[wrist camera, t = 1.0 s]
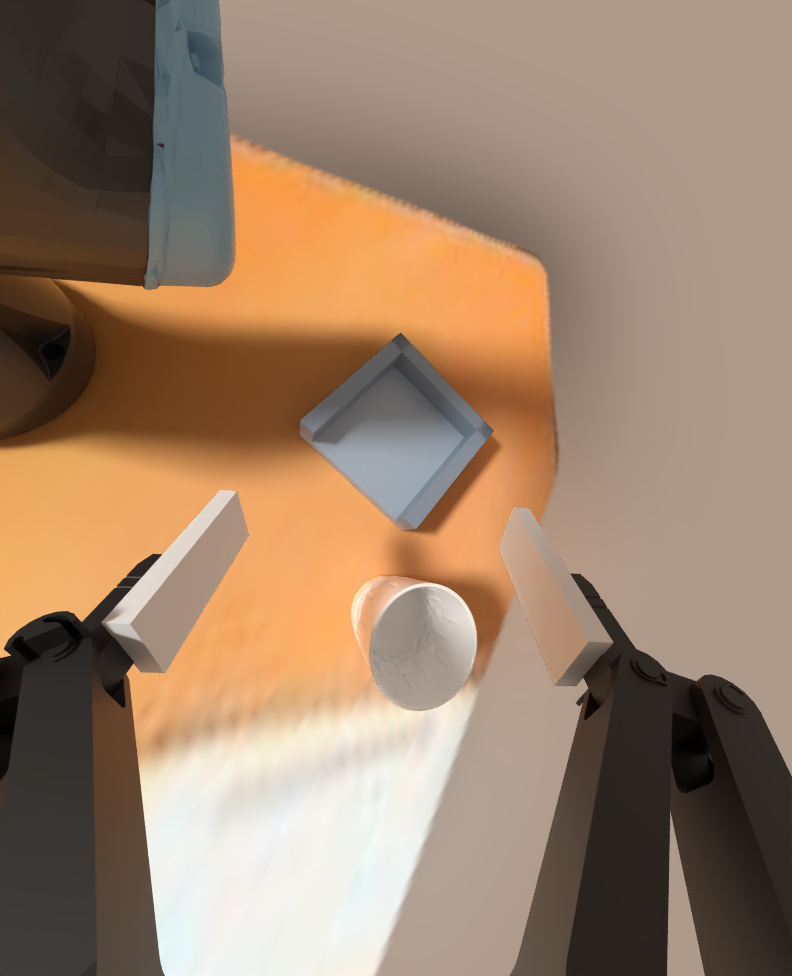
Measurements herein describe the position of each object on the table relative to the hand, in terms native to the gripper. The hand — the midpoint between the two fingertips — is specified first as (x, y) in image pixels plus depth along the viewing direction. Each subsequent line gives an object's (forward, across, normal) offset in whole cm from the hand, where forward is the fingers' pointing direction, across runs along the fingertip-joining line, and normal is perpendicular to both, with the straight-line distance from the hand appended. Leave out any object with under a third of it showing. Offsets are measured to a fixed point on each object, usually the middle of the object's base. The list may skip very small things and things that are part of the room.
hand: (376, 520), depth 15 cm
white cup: (+7, +1, -17) cm, 18 cm away
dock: (+19, +1, -4) cm, 19 cm away
